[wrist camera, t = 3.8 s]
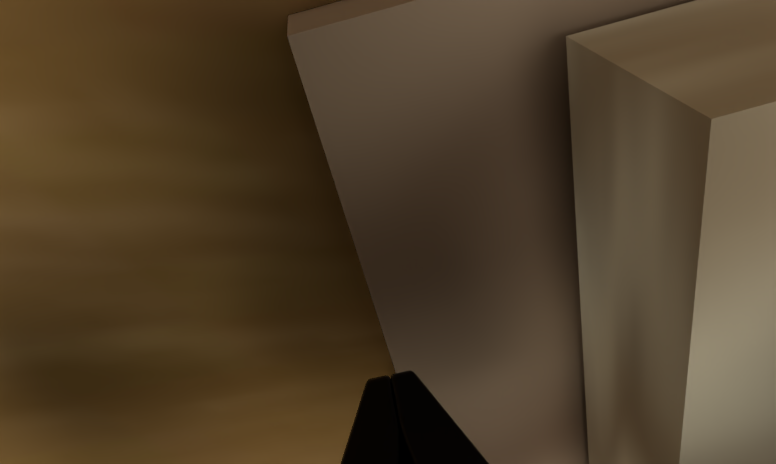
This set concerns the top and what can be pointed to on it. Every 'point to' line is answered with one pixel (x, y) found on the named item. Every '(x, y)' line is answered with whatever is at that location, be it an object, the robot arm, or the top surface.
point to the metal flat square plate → (464, 199)
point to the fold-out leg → (677, 232)
